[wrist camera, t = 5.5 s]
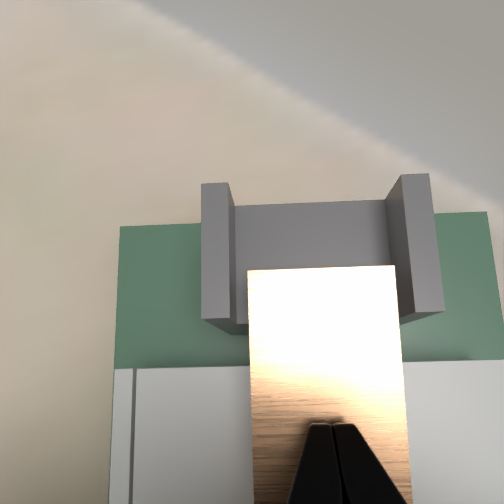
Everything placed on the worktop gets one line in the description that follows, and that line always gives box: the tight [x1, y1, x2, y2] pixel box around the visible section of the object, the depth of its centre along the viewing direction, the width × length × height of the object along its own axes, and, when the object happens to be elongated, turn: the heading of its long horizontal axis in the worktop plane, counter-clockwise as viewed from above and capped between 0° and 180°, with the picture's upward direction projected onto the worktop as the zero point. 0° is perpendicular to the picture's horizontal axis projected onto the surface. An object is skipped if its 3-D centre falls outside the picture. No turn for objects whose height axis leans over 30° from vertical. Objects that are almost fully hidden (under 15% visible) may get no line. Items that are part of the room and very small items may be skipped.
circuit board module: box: [108, 173, 504, 504], centre depth 12 cm, size 16×13×7 cm
